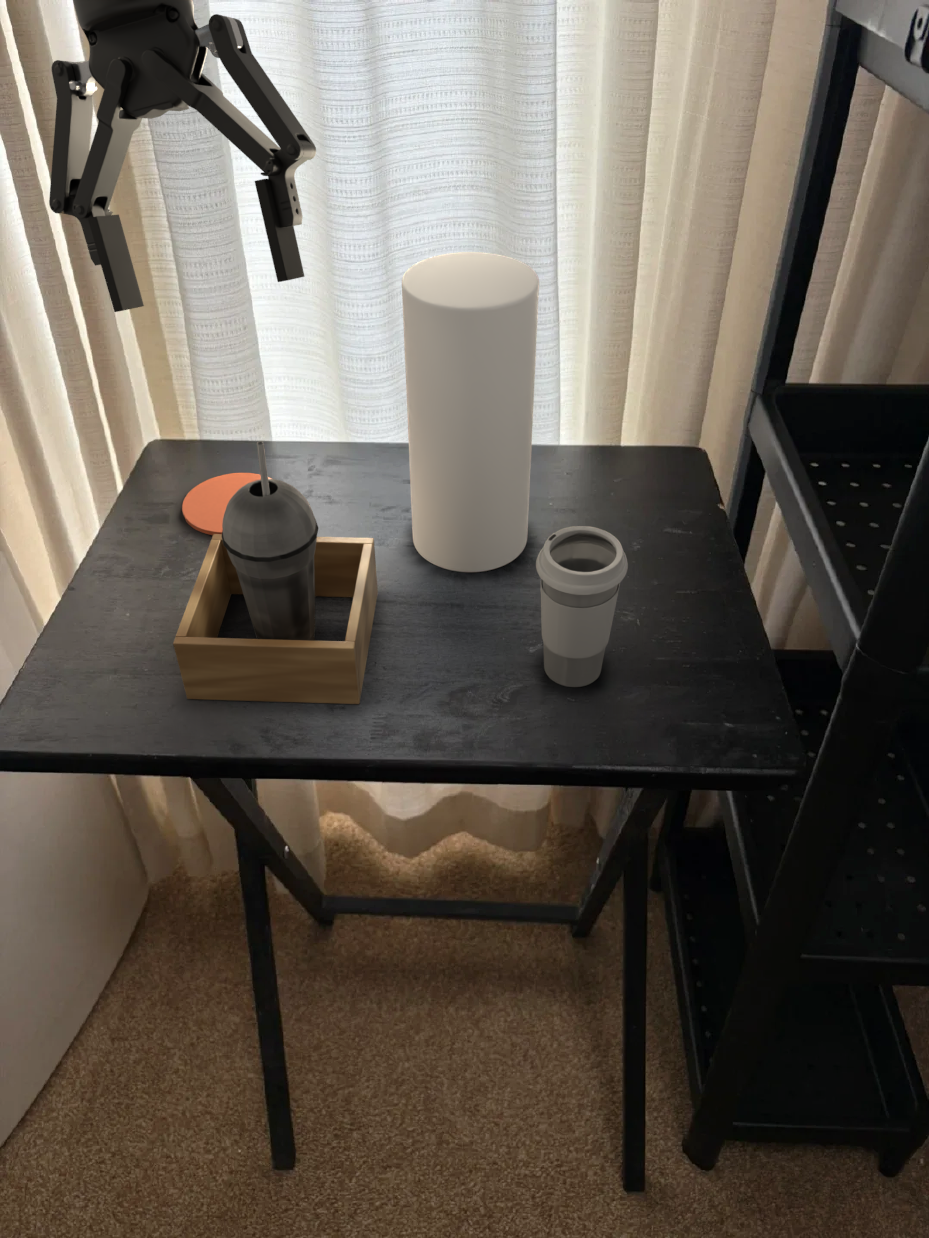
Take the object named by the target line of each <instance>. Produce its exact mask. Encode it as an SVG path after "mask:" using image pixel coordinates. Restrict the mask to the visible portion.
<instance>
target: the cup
mask: <svg viewBox="0 0 929 1238" xmlns="http://www.w3.org/2000/svg"><path fill="white" fill-rule="evenodd" d="M535 568H536V569H535V570H536V573H537V575H538V577H539V578H540V622H541V627H540V629H541V639H542V641H543V670H544V672H545V674H546V676H547V677H548V678H549V679H550V680H551V681H552V682H554V683H556V684H557V685H561V686H564V687H566V688H567V687H568V688H581V687H585V686H588V685H591V684H592V683H594V682H595V681H596V680H597V679H598V678H599V677H600V675H601V672H602V668H603V663H604V657H605V652H606V647H607V645H608V644H609V641H610V636H611V635H610V634H611V631H612V625H613V620H614V617H615V611H616V607H617V602H618V597H619V592H620V585H621V582H622V581H623V580H624V579H625V577H626V575H627V573H628V570H629V569H628V568H629V563H628V559H627V555H626V553H625V552H624V549H623V546H622V544H621V542H620V540H619V539H618V538H617V537H616V536H614V535H613V534H612V533H610V532H609V531H606V530H604V529H601V528H598V527H595V526H589V525H574V526H568V527H564V528H561V529H559V530H557V531H555V532H553V533H552V534H550V535H549V536H548V538H547V539H546V540H545V542H544V545H543V547H542V548H541V549H540V551H539V552H538V555H537V557H536V561H535Z"/></svg>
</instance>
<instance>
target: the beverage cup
mask: <svg viewBox="0 0 929 1238" xmlns="http://www.w3.org/2000/svg"><path fill="white" fill-rule="evenodd" d="M256 450H257V458H258V459H257V460H258V466H259V474H260V475H261V480H256V481H253V482H250V483H248V484H246V485H245V486H243V487H241V488H240V489H239V490H238V491H237V492H236V493H235V494H234V495H233V496H232V498H231V499H230V500H229V502H228V504H227V507H226V510H225V513H224V517H223V523H222V528H223V531H222V541H223V545H224V546H225V548H226V549H227V552H228V555H229V557H230V559H231V561H232V564H233V565H234V566H235V568H236V571H237V575H238V578H239V581H240V584H241V588H242V591H243V594H242V595H243V597H244V601H245V605H246V607H247V610H248V615H249V617H250V620H251V624H252V627H253V631H254V634H255V637H256V639H273V640H308V641H316V638H315V635H316V596H315V574H314V554H315V549H316V540H317V537H318V534H319V533H318V532H319V525H318V522H317V519H316V517H315V515H314V512H313V509H312V506H311V505H310V503H309V501H308V499H307V498H306V497H305V496H304V494H302V493H301V491H300V490H298V489H297V488H296V487H295V486H293V485H291V484H289V483H287V482H285V481H283V480H280V479H274V478H272V479H268V477H269V476H268V467H267V459H266V449H265V442H264V441H263V440H258V441H257V442H256Z"/></svg>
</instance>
